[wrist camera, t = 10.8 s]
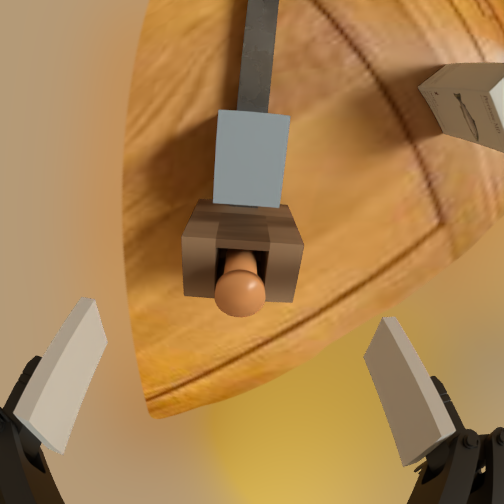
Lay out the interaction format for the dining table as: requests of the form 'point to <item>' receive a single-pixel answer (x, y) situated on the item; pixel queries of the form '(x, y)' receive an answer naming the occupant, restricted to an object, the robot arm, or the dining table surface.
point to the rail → (257, 58)
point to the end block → (241, 247)
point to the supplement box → (469, 102)
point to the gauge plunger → (240, 285)
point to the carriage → (250, 158)
